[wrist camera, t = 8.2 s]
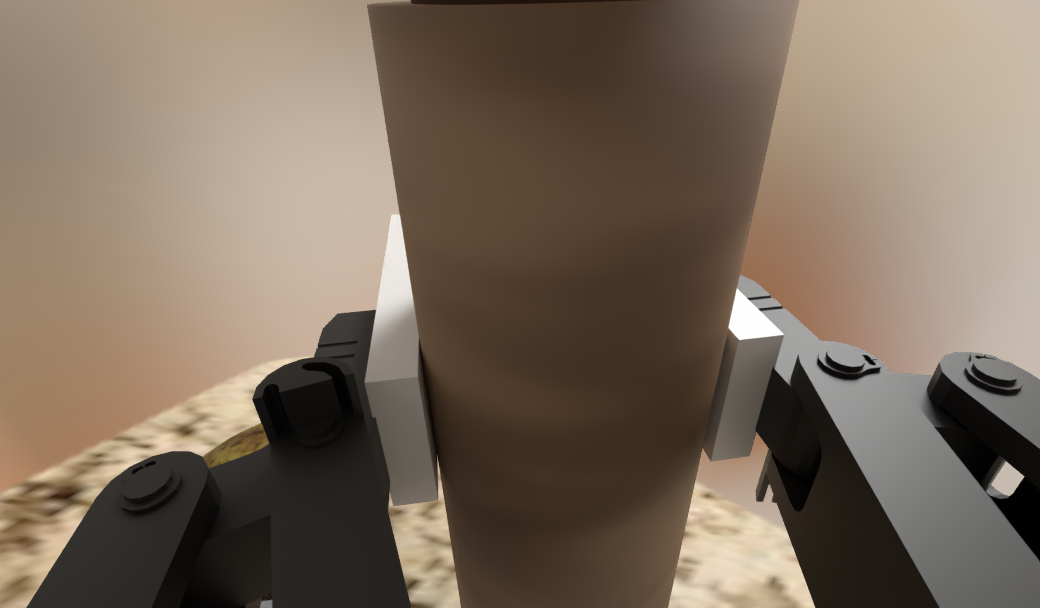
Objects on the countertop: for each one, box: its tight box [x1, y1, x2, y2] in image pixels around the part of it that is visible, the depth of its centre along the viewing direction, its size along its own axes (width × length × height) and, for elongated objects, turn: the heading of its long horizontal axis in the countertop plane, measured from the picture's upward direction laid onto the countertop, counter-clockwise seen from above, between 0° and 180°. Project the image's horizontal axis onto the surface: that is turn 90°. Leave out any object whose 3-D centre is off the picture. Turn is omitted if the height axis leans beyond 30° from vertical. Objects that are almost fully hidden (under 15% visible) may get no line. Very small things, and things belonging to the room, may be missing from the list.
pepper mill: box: [367, 0, 799, 608], centre depth 9 cm, size 5×5×17 cm
